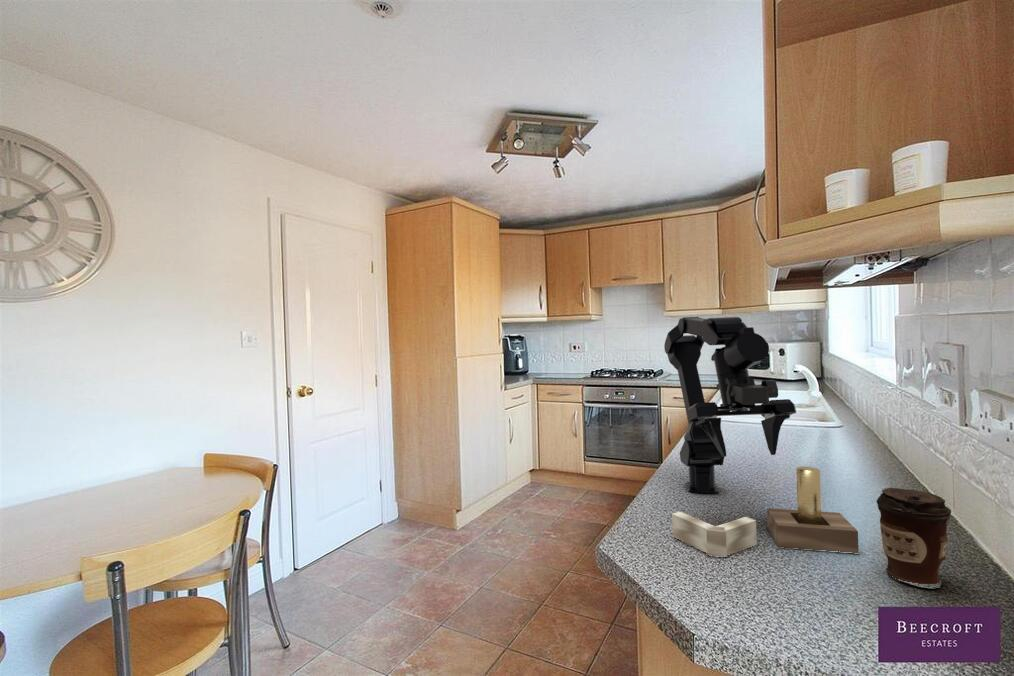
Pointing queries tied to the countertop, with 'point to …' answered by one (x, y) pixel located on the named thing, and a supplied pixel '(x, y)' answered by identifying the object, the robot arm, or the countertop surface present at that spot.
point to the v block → (715, 534)
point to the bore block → (812, 531)
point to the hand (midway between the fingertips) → (748, 455)
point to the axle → (808, 495)
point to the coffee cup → (913, 534)
